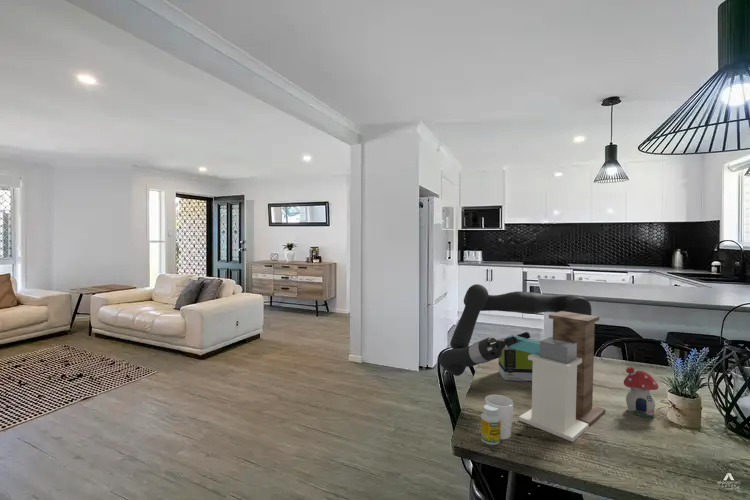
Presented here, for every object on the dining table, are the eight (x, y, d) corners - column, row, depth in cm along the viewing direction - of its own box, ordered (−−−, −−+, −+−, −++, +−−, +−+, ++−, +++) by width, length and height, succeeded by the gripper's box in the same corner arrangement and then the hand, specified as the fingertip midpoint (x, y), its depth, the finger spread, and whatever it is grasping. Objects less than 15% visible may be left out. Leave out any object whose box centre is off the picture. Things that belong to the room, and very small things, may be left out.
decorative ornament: (622, 412, 121) (623, 367, 121) (623, 405, 127) (624, 362, 126) (657, 421, 116) (659, 374, 115) (657, 413, 121) (658, 368, 121)
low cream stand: (588, 427, 111) (590, 359, 111) (572, 441, 103) (574, 368, 103) (536, 408, 123) (538, 347, 123) (519, 420, 116) (520, 354, 115)
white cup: (508, 427, 111) (509, 395, 111) (515, 442, 103) (516, 407, 103) (482, 425, 112) (482, 393, 112) (487, 439, 104) (487, 405, 104)
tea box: (533, 373, 156) (534, 339, 156) (542, 382, 146) (543, 345, 146) (497, 371, 158) (498, 337, 157) (503, 380, 148) (504, 344, 147)
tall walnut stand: (605, 412, 121) (608, 316, 120) (589, 426, 112) (592, 323, 111) (555, 396, 133) (558, 309, 132) (538, 408, 124) (540, 314, 123)
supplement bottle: (490, 433, 108) (491, 401, 107) (504, 442, 103) (505, 409, 102) (476, 437, 105) (477, 405, 105) (489, 447, 100) (490, 413, 100)
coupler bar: (576, 358, 111) (576, 342, 111) (566, 364, 107) (567, 347, 106) (514, 344, 126) (514, 329, 126) (503, 348, 122) (504, 333, 122)
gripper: (469, 344, 128) (506, 329, 117) (491, 337, 137) (528, 322, 126) (478, 365, 125) (517, 352, 114) (500, 357, 135) (538, 343, 124)
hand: (522, 336), depth 120 cm, fingers open, 8 cm apart
